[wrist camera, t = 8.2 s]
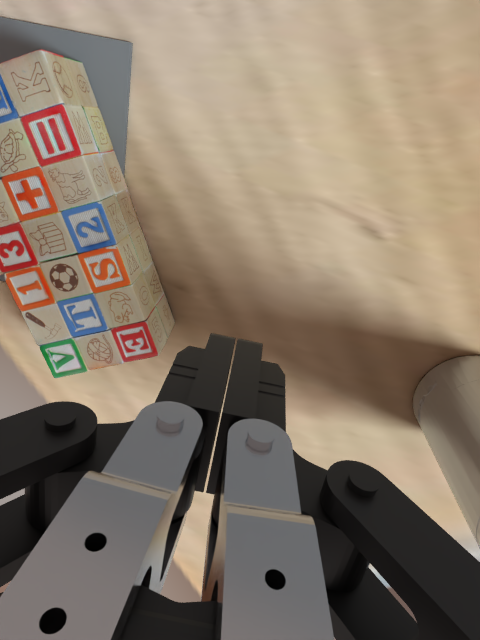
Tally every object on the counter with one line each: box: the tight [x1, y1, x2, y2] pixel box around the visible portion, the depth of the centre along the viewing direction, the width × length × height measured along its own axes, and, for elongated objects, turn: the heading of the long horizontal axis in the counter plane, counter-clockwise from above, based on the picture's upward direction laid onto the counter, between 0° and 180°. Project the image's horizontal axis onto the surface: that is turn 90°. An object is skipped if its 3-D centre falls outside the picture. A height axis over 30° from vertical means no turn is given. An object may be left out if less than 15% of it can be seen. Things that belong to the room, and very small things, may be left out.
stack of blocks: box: [0, 49, 175, 378], centre depth 33 cm, size 21×6×12 cm
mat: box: [0, 17, 133, 281], centre depth 35 cm, size 11×20×1 cm, turn 170°
